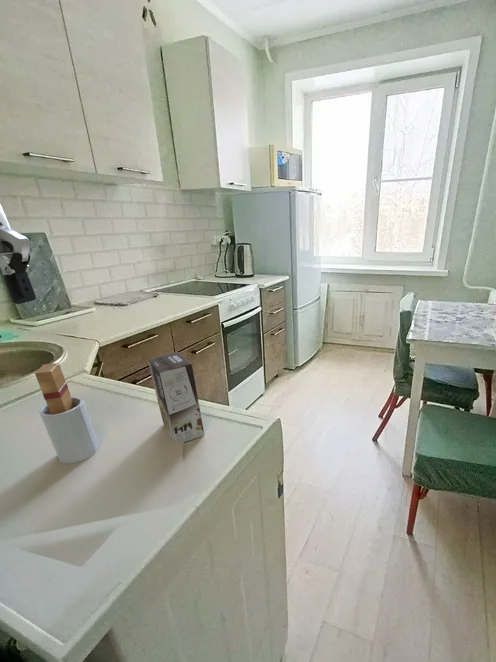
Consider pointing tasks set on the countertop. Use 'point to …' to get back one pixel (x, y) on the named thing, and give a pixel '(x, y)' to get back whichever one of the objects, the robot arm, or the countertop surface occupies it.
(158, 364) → the coffee box
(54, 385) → the chopstick bundle
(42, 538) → the countertop surface
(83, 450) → the light gray cup
